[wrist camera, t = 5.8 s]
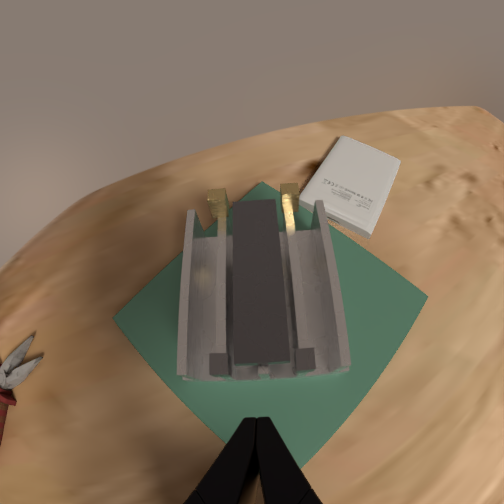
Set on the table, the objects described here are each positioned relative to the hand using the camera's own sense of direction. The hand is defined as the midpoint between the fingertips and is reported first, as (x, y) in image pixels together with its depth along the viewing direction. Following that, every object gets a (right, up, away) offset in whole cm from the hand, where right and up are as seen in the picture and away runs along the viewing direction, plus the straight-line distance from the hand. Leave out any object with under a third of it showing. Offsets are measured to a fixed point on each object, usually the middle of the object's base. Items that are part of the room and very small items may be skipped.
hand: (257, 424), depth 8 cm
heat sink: (+1, +1, +15) cm, 15 cm away
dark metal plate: (0, +4, +10) cm, 11 cm away
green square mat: (+1, 0, +15) cm, 16 cm away
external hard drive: (+11, +13, +23) cm, 28 cm away
